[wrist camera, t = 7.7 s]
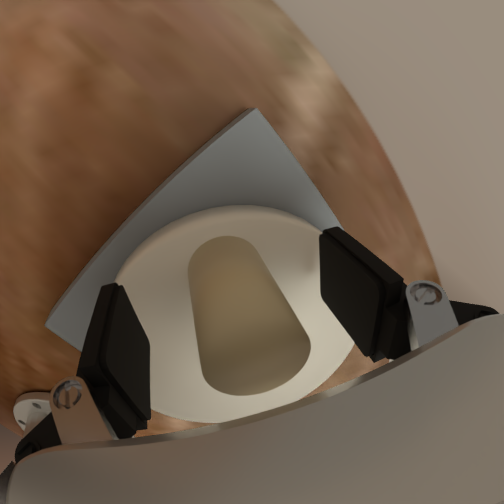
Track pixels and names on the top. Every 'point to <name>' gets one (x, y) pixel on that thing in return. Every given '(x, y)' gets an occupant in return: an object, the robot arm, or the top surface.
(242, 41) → the top surface
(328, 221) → the base board
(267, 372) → the dial
